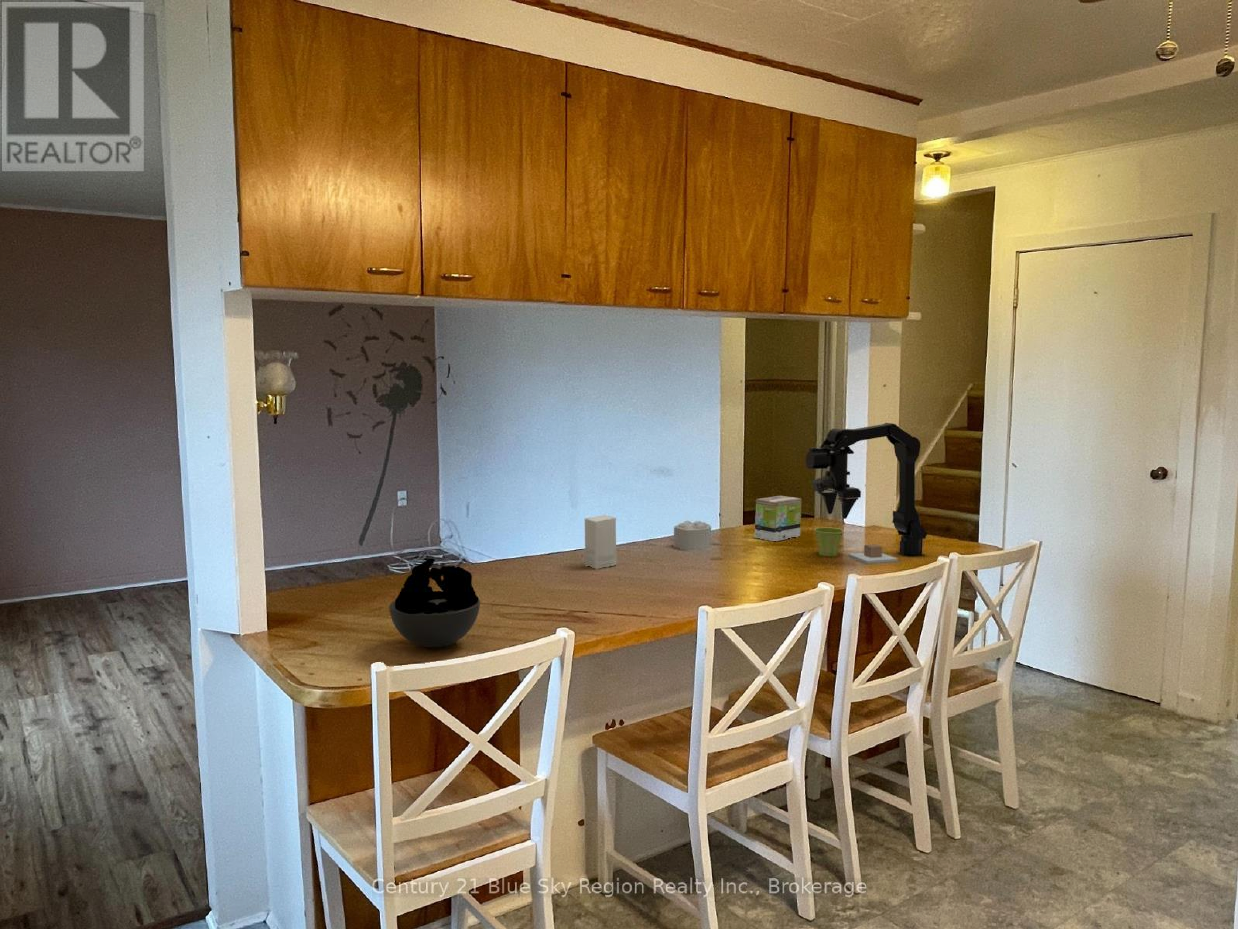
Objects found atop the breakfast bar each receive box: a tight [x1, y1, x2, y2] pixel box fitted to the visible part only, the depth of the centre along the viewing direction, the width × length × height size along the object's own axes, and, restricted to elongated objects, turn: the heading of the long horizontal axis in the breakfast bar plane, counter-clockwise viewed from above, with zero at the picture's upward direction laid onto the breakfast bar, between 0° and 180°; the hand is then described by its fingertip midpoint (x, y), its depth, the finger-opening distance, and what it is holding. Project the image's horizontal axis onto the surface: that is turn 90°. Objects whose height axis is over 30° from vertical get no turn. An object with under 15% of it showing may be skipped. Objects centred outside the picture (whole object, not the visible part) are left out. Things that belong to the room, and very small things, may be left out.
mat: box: [845, 554, 903, 565], centre depth 285 cm, size 13×13×1 cm
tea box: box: [754, 495, 802, 542], centre depth 322 cm, size 15×10×15 cm
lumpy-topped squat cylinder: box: [673, 520, 712, 551], centre depth 307 cm, size 10×13×9 cm
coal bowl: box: [388, 558, 481, 648], centre depth 198 cm, size 20×20×19 cm
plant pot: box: [814, 526, 844, 557], centre depth 292 cm, size 9×9×9 cm
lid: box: [848, 544, 898, 564], centre depth 285 cm, size 11×11×4 cm
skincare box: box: [584, 514, 617, 569], centre depth 277 cm, size 8×7×16 cm
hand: (837, 516), depth 283 cm, fingers open, 9 cm apart
